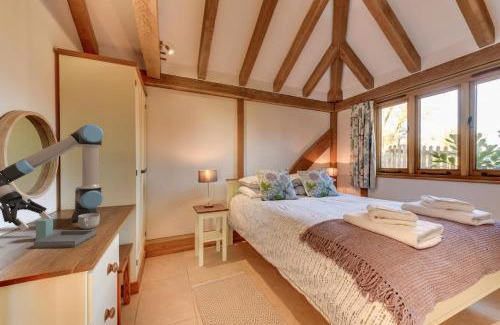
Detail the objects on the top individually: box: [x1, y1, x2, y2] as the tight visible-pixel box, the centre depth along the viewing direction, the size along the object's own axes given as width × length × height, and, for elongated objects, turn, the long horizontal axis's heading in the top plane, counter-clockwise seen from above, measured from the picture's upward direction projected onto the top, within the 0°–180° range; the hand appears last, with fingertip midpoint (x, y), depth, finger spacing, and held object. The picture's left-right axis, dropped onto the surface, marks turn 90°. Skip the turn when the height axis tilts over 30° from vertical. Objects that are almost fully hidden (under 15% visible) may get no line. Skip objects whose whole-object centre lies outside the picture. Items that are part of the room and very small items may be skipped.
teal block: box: [35, 218, 54, 241], centre depth 108 cm, size 4×4×10 cm
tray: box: [33, 229, 97, 249], centre depth 105 cm, size 16×18×3 cm
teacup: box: [77, 213, 101, 230], centre depth 125 cm, size 14×11×8 cm
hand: (39, 225), depth 107 cm, fingers open, 13 cm apart
